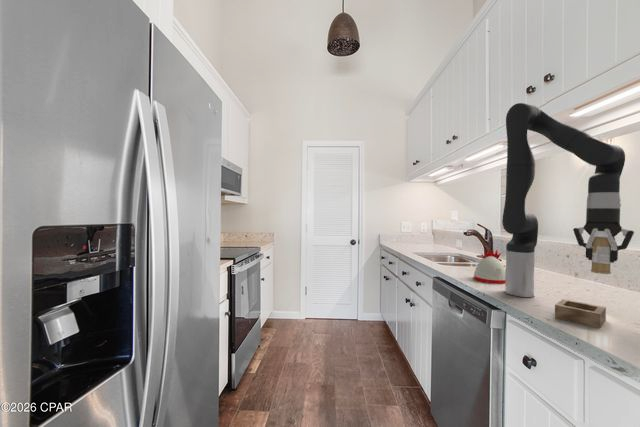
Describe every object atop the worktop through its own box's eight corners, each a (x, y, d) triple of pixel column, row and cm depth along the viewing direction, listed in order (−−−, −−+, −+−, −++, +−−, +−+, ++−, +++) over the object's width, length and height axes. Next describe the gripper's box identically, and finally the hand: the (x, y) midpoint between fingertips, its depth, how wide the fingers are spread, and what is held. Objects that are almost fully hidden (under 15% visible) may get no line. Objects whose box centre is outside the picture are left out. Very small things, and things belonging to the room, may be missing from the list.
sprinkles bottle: (590, 270, 92) (591, 230, 92) (610, 273, 89) (611, 230, 89) (591, 272, 89) (592, 230, 88) (611, 275, 85) (613, 231, 85)
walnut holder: (554, 317, 86) (555, 304, 86) (562, 311, 93) (563, 298, 93) (600, 328, 79) (600, 314, 79) (605, 320, 85) (605, 307, 85)
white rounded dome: (511, 285, 127) (512, 252, 127) (477, 282, 131) (478, 250, 131) (502, 278, 140) (502, 248, 140) (471, 276, 144) (471, 247, 144)
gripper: (570, 207, 92) (568, 259, 92) (635, 207, 80) (633, 266, 81) (575, 207, 96) (573, 256, 97) (637, 207, 85) (636, 263, 85)
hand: (601, 260), depth 89 cm, fingers closed on sprinkles bottle, 4 cm apart
